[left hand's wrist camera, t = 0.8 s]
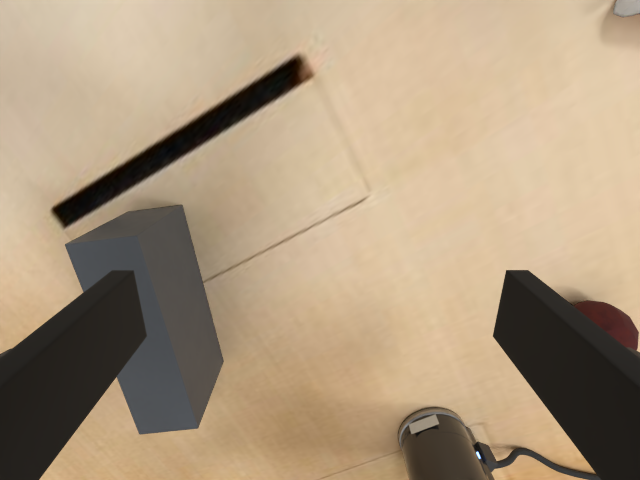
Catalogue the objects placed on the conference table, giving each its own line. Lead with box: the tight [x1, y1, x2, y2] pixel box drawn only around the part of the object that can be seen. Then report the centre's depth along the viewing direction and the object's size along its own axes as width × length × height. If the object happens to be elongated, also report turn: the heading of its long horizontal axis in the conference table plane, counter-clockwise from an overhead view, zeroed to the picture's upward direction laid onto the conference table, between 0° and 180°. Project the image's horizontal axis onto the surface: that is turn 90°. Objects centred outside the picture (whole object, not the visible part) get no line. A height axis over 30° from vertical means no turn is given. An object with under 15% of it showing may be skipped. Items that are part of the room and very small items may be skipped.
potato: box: [574, 301, 639, 350], centre depth 41 cm, size 7×8×7 cm
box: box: [65, 205, 223, 434], centre depth 38 cm, size 21×6×10 cm, turn 7°
